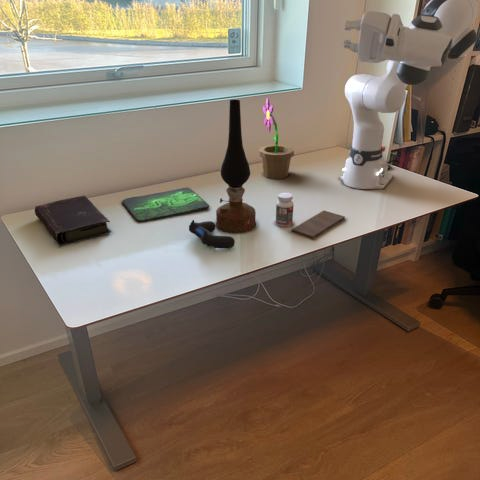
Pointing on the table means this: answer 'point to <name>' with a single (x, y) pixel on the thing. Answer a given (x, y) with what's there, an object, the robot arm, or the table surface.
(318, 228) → the walnut board
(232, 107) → the oil lamp
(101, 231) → the diary
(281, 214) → the pill bottle
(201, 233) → the gaming controller
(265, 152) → the flowerpot
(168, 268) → the table surface
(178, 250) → the table surface
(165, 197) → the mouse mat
